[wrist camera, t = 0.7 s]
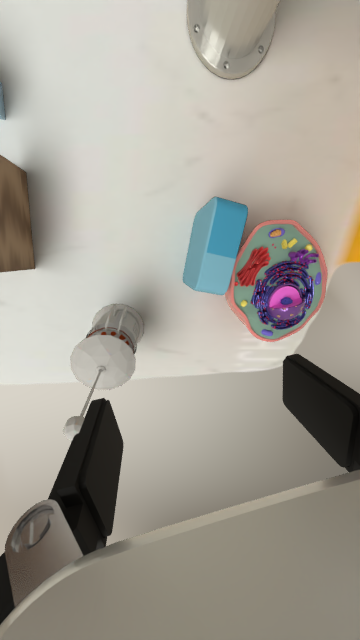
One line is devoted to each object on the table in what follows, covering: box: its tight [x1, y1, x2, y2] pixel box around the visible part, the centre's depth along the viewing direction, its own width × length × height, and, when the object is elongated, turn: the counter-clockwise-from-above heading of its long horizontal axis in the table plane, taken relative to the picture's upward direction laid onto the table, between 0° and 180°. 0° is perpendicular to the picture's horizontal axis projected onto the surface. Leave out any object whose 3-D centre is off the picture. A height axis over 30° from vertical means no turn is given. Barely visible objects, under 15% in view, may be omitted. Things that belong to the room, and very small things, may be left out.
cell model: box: [225, 220, 327, 342], centre depth 35 cm, size 17×20×11 cm
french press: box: [63, 304, 144, 441], centre depth 27 cm, size 10×12×25 cm
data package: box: [183, 197, 248, 295], centre depth 31 cm, size 12×4×12 cm, turn 169°
